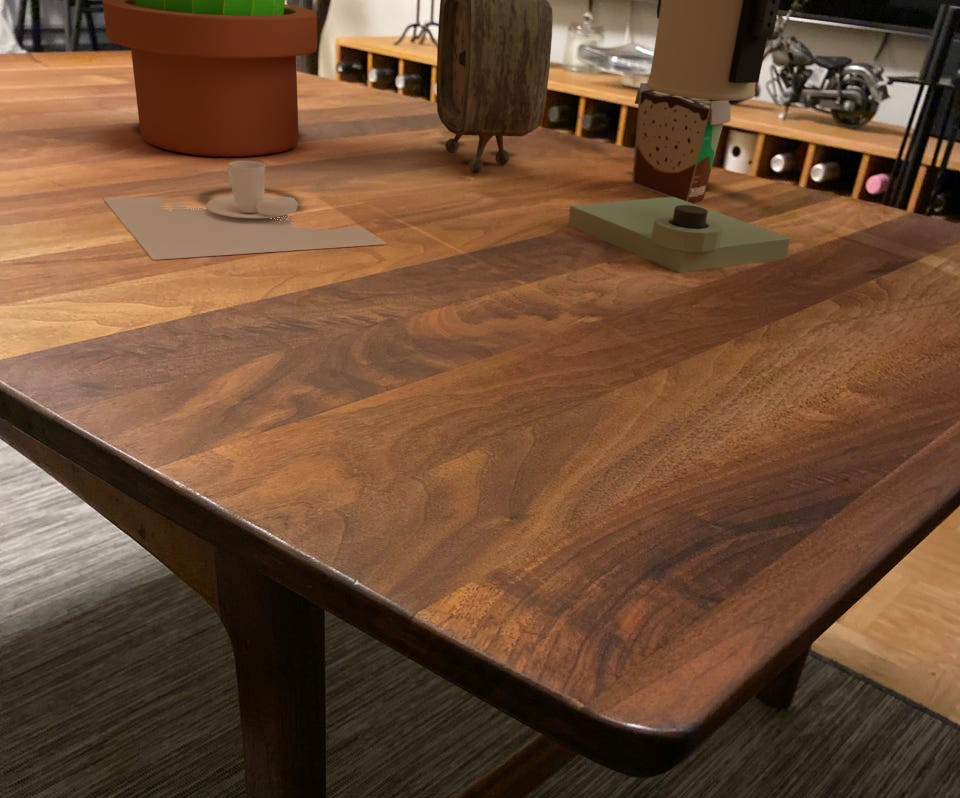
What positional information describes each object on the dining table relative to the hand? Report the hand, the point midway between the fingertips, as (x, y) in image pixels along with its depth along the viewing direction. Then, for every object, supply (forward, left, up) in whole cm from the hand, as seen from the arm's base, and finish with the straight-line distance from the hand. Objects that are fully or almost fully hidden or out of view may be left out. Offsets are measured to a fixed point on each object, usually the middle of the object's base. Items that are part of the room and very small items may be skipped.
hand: (703, 72), depth 88 cm
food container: (+16, -15, -14) cm, 26 cm away
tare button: (-6, +4, -11) cm, 13 cm away
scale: (0, 0, -14) cm, 14 cm away
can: (0, 0, -2) cm, 2 cm away
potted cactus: (+52, +24, -14) cm, 59 cm away
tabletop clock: (+34, -1, -14) cm, 37 cm away
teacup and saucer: (+19, +35, -14) cm, 42 cm away
